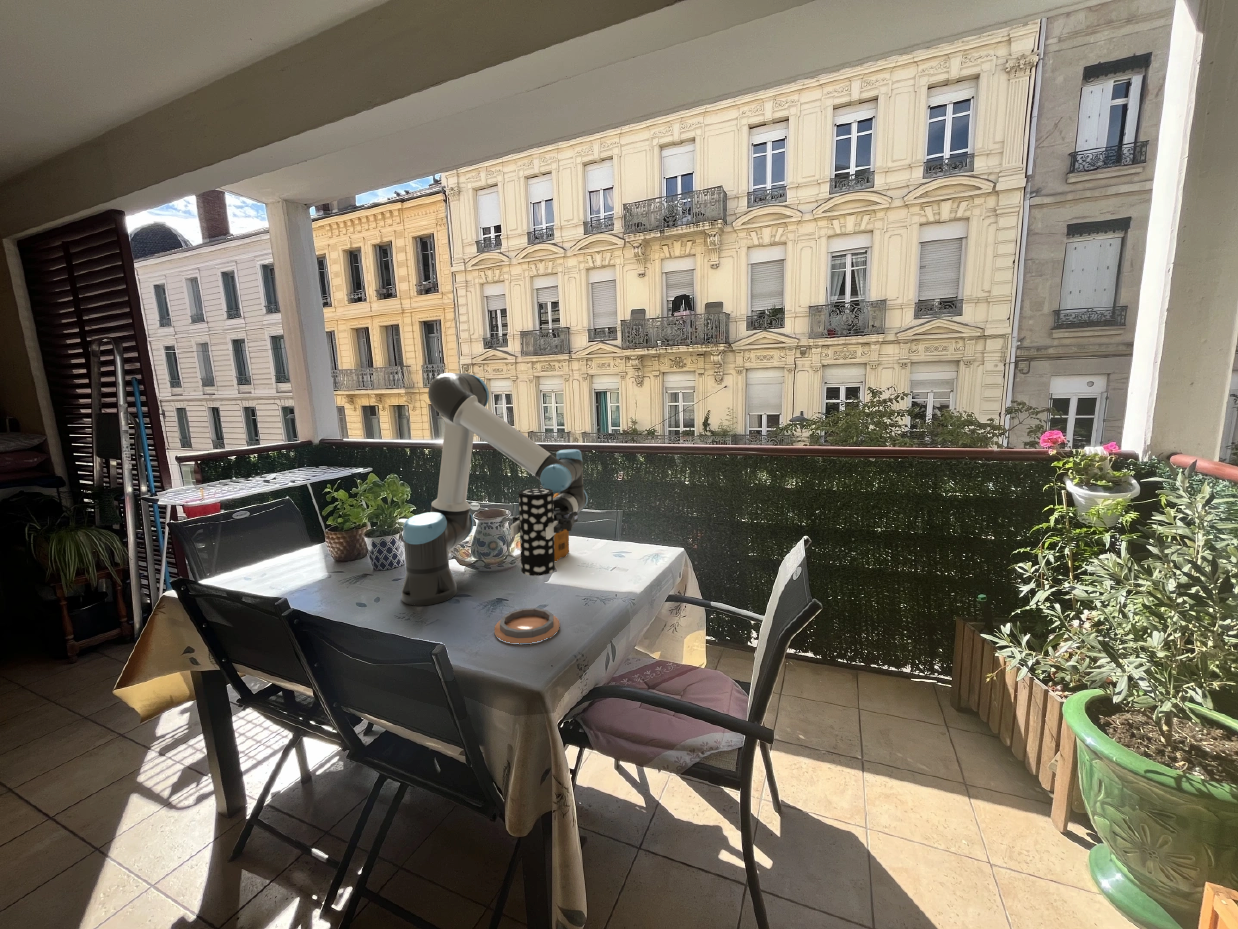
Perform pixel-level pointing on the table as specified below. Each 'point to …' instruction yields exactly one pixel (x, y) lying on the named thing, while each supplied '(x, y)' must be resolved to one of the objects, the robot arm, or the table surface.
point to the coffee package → (561, 542)
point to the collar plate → (527, 626)
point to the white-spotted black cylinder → (536, 531)
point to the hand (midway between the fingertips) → (529, 532)
